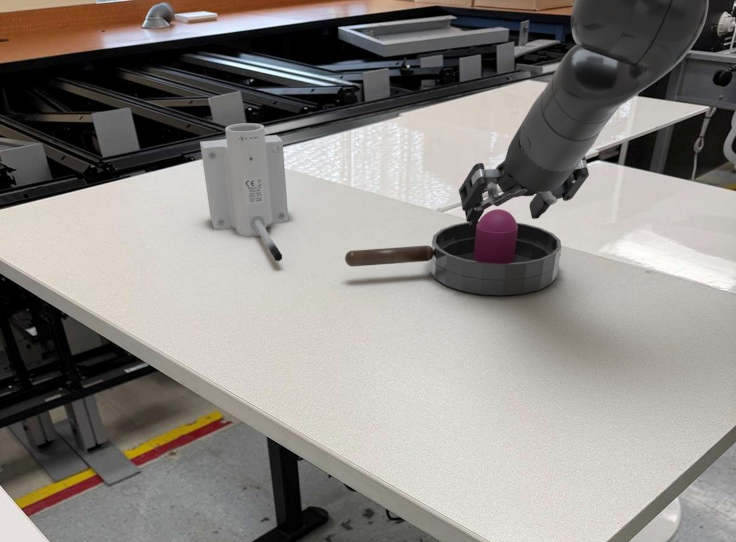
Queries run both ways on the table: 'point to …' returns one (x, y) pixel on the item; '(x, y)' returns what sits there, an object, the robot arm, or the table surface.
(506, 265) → the pan
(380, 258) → the pan handle
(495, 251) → the magenta domed cylinder
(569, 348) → the table surface
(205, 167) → the electronic device
